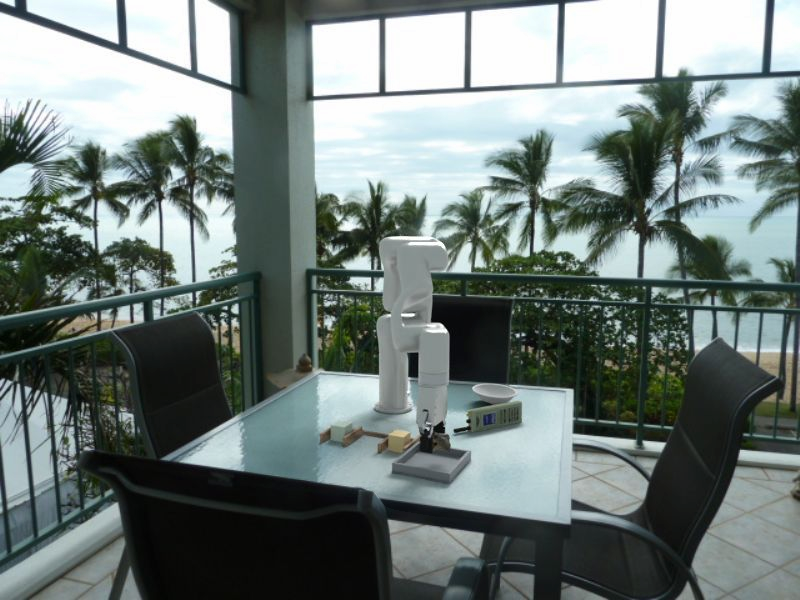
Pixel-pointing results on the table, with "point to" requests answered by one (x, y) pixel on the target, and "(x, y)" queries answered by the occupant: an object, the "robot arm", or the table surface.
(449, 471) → the tray
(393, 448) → the ochre block
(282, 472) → the table surface
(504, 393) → the dish
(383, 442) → the rack
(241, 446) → the table surface
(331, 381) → the table surface
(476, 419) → the handheld radio
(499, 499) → the table surface
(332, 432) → the sage block
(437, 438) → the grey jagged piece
